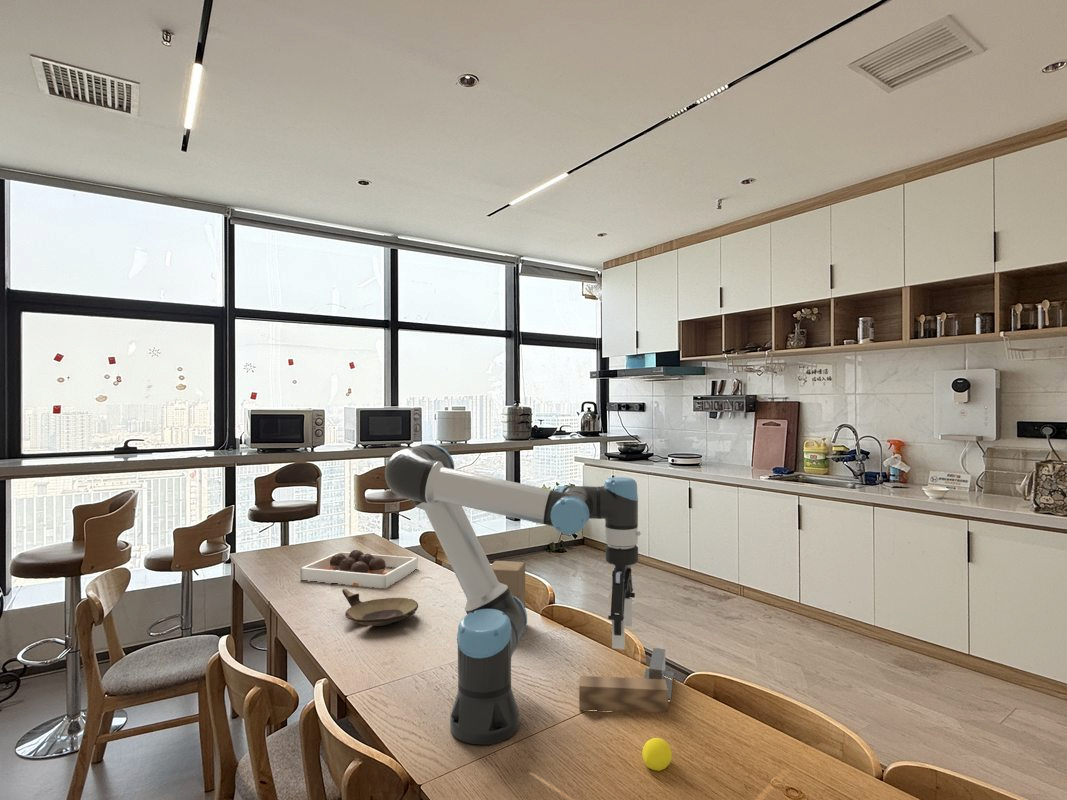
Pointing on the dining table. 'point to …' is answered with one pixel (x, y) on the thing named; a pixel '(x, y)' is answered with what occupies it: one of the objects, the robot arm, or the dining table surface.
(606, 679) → the walnut bar
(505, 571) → the wooden block
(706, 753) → the dining table surface
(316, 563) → the truffle corral
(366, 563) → the chocolate truffle
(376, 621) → the olive brown pan
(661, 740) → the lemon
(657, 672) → the fulcrum
